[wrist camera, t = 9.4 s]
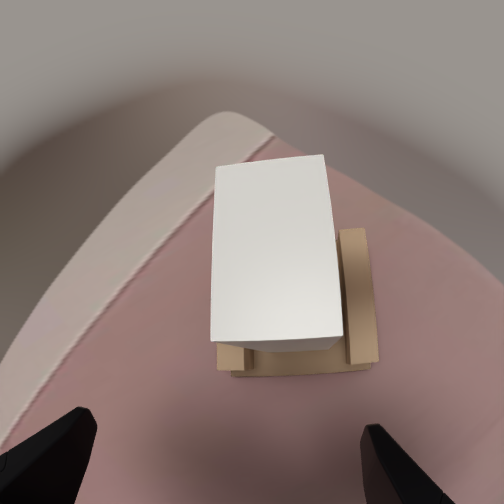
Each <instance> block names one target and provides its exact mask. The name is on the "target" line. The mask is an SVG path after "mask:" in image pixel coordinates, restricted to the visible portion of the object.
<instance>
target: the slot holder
mask: <svg viewBox="0 0 504 504" xmlns="http://www.w3.org/2000/svg"><path fill="white" fill-rule="evenodd" d="M335 242H336V251H337V261H338V272H339V283H340V295H341V308H342V324H343V336H342V337H341V338H340V339H339V340H338V341H337V342H336V343H335V344H334V345H333V346H332V347H331V348H330V349H328V350H314V351H296V352H271V353H270V352H264V351H259V350H253V349H247V348H242V347H237V346H232V345H226V344H221V343H217V370H231V377H252V376H289V375H309V374H323V373H336V372H347V371H357V370H366V369H371V368H370V363H371V362H379V356H378V340H377V326H376V315H375V304H374V294H373V285H372V277H371V269H370V262H369V254H368V248H367V241H366V234H365V228H355V229H343V230H339V234H338V240H335Z"/></svg>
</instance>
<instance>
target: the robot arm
mask: <svg viewBox="0 0 504 504" xmlns="http://www.w3.org/2000/svg"><path fill="white" fill-rule="evenodd" d="M96 432H97V423H96V421H95V419H94V417H93V415H92V413H91V411H90V410H89V409H88V408H84V407H76V408H75V409H73V410H72V411H70V412H69V413H67V414H66V415H64V416H62V417H61V418H59V419H58V420H56V421H55V422H53V423H52V424H50V425H48V426H47V427H45V428H44V429H42V430H41V431H39V432H37V433H36V434H34V435H33V436H31V437H30V438H28V439H26V440H25V441H23V442H22V443H20V444H18V445H17V446H15V447H14V448H12V449H10V450H9V451H8V452H5V453H4V454H2V455H0V504H74V503H75V500H76V497H77V494H78V491H79V488H80V486H81V483H82V480H83V477H84V474H85V472H86V469H87V466H88V463H89V459H90V456H91V451H92V447H93V443H94V440H95V436H96ZM360 449H361V460H362V473H363V486H364V492H365V497H366V502H367V504H455V503H454V502H453V501H452V500H451V499H450V498H449V497H448V496H447V495H446V494H445V493H443V491H442V490H441V489H440V488H439V487H438V486H437V485H436V483H435V482H434V481H433V480H432V479H431V478H430V477H429V476H428V475H427V474H426V473H425V472H424V471H423V470H422V469H421V468H420V467H419V466H418V465H417V464H416V463H415V461H414V460H413V459H412V458H411V457H410V456H409V455H408V454H407V453H406V452H405V451H404V450H403V449H402V448H401V447H400V446H399V444H398V443H397V442H396V441H395V440H394V439H393V438H392V437H391V436H390V435H389V434H388V433H387V432H386V430H385V429H384V428H383V427H382V426H381V425H380V424H369V425H366V426H365V429H364V432H363V435H362V438H361V441H360Z"/></svg>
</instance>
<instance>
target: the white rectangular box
mask: <svg viewBox="0 0 504 504" xmlns="http://www.w3.org/2000/svg"><path fill="white" fill-rule="evenodd" d="M342 336H343V324H342V308H341V295H340V283H339V272H338V261H337V251H336V242H335V233H334V225H333V217H332V209H331V202H330V195H329V188H328V181H327V174H326V168H325V162H324V156H323V155H311V156H300V157H290V158H281V159H272V160H263V161H255V162H247V163H240V164H233V165H226V166H219V167H216V177H215V196H214V218H213V245H212V279H211V341H212V342H217V343H221V344H226V345H232V346H237V347H242V348H247V349H253V350H259V351H264V352H270V353H271V352H296V351H314V350H328V349H330V348H331V347H332V346H333V345H334V344H335V343H336V342H337V341H338V340H339V339H340V338H341V337H342Z"/></svg>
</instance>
